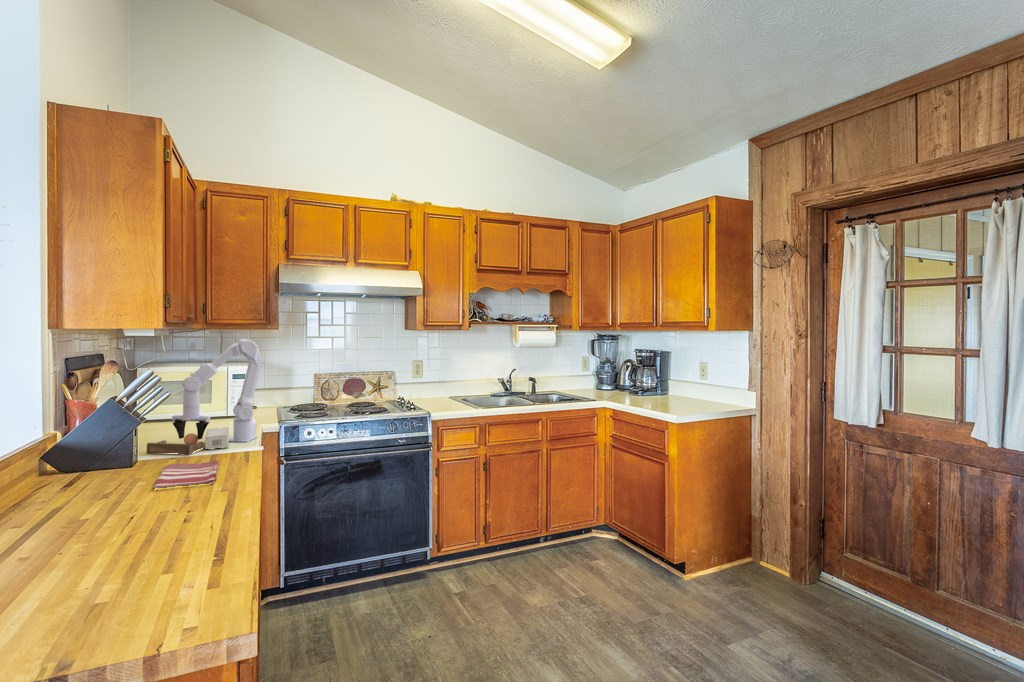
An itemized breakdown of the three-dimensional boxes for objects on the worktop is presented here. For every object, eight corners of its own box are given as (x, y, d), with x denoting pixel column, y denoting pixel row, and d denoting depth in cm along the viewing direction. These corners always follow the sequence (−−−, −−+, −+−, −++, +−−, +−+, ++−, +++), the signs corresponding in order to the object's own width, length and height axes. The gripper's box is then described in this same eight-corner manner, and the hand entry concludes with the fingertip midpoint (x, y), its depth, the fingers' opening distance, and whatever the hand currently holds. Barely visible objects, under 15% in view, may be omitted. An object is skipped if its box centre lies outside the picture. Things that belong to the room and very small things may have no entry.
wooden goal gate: (163, 447, 203) (163, 437, 203) (204, 449, 203) (204, 439, 203) (146, 453, 194) (146, 443, 193) (189, 455, 194) (189, 444, 193)
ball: (188, 443, 210) (188, 431, 210) (200, 444, 210) (200, 432, 210) (180, 446, 205) (181, 434, 205) (193, 447, 205) (193, 435, 205)
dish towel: (219, 466, 183) (219, 459, 183) (214, 486, 162) (215, 478, 162) (163, 471, 175) (163, 463, 175) (151, 493, 154) (151, 484, 154)
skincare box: (204, 436, 201) (206, 428, 213) (205, 451, 201) (206, 442, 214) (229, 434, 205) (228, 426, 218) (229, 448, 205) (228, 439, 218)
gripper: (167, 406, 203) (166, 440, 203) (203, 408, 203) (202, 441, 203) (178, 403, 210) (178, 436, 210) (213, 405, 210) (212, 437, 210)
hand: (190, 438), depth 207 cm, fingers open, 7 cm apart
